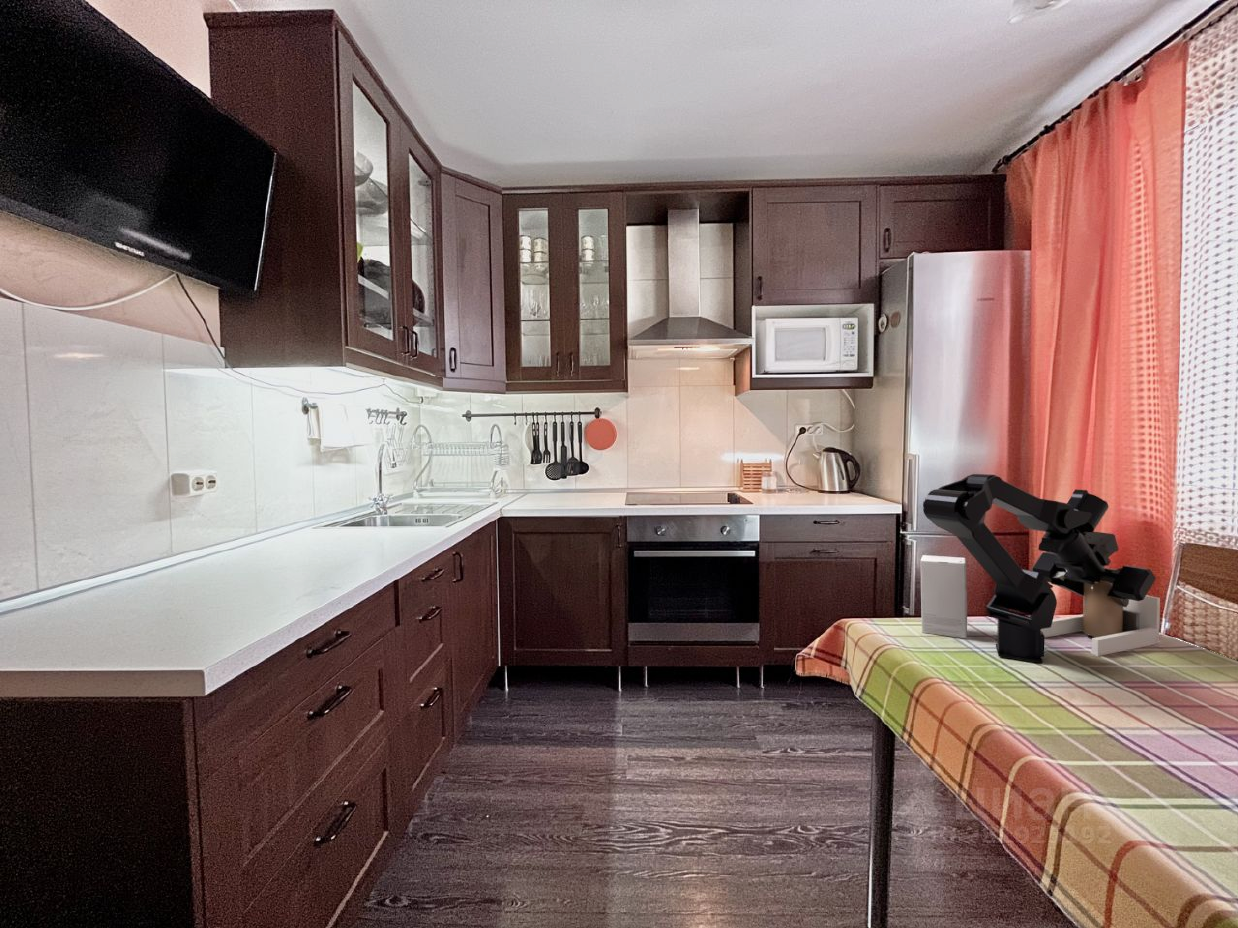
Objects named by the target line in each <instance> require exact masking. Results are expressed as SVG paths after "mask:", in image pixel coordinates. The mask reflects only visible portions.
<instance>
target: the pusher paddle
mask: <svg viewBox="0 0 1238 928" xmlns="http://www.w3.org/2000/svg"><path fill="white" fill-rule="evenodd" d="M1139 620H1140V613H1138V612H1134V611H1130V610H1125V609H1123V632H1128V631H1133V630H1139Z"/></svg>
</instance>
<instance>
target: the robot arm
mask: <svg viewBox="0 0 1238 928" xmlns="http://www.w3.org/2000/svg"><path fill="white" fill-rule="evenodd" d="M922 502H923V503H922V506H923V507H922V511H923V513H924V515H925V518H927V520H929V521H930V522H932V523H933V524H934V525H935V526H937V527H938V528H940V529H941V530H944V531H946V532H948V533H950V534H952V535H954V536H955V537H957V539H958V540H959V541H960V542H961V544H962V545H963V546H964V547H965V548H966V549H967V551H968V552H969V553H970V555H972V556H973V558H974V559H975V560H976V562H978V564H979V565H980V566H981V567H982V569H983V570H984V571H985V572H986V573H987V575H988V576H989V577H990V578H991V579H992V580H993V582H994V583H995V584H994V589H993V592H994V595H993V596H992V598H991V599H990V601H989V602H988V604H987V605H986V607H985V609H986V612H987V616H988V617H989V618H991V619H993V618H994V619H996V620H997V629H996V630H997V637H996V638H997V639H996V641H997V642H996V644H995V648H996V651H997V656H998V657H1000V658H1005V659H1013V660H1018V661H1026V662H1030V663H1031V662H1032V663H1038V664H1039V663H1040V664H1042V663H1043V658H1044V657H1045V639H1046V638H1045V636H1044V634H1043V632H1042V631H1041V629H1045V628H1050V627H1051V625H1052V621H1053V619H1054V616H1055V613H1056V609H1057V604H1058V601H1057V596H1056V594H1055V592H1054V590H1053V589H1052V588H1054V585H1055V586H1058V587H1060V588H1061V589H1062V588H1063V589H1065V590H1067V591H1070V592H1072V593H1073V594H1076V595H1077V596H1080V597H1083V592H1084V583H1088V584H1094V583H1099V582H1100V580H1103V581H1108V582H1110V584H1111V585H1112V588H1111V589H1110V591H1109V593H1108V594H1107V596H1109V597H1110V598H1111V599H1113V600H1114V601H1116V602H1117V603H1119V604H1120V605H1122V606H1123V607H1127V605H1128V604H1129V599H1130V600H1135V601H1141V600H1144V598H1145V596H1146V595H1148V593H1149V591H1150V590H1151V588H1152V586H1153V585H1154V582H1155V581H1156V580H1157V578H1156V575H1155V574H1154V573H1153V572H1152V570H1151V569H1150V568H1146V567H1140V566H1134V565H1123V566H1122V567H1121V568H1116V569H1117V570H1111V569H1112V568H1111V569H1106V568H1107V567H1108V566H1109V565H1110V564H1111V562H1112V561H1111V559H1110V557H1111V556H1112V555H1113V554H1114V553H1115V552H1118V551H1119V549H1120V548H1119V545H1118V541H1117V538H1116V535H1115V534H1114V533H1108V532H1100V531H1095V530H1096V528H1097V526H1098V525H1099V523H1100V522H1101V520H1102V519H1103V517H1104V516H1105V514H1106V513H1107V511H1108V510H1109V503H1108V502H1107V501H1106V500H1104V499H1102V498H1101V497H1099V496H1097V495H1095V494H1092V493H1089V491H1088V490H1087V489H1074V491H1073V492H1072V494H1071V496H1070V498H1069V500H1068V501H1067V502H1061V501H1057V500H1051V499H1045V498H1040V497H1037V496H1036V495H1033V494H1032V493H1030V492H1028V491H1026V490H1023V489H1021V488H1019V487H1017V486H1015V485H1013V484H1011V483H1009V482H1007V481H1005V480H1003V478H1001V477H1000V476H997V475H996V474H991V473H990V474H986V473H985V474H984V473H972V474H969V475H967V476H965V477H963V478H962V479H960V480H957V481H955V482H952V483H951V482H950V483H949V484H945V485H943V486H941V487H939V488H938V489H932V490H930V492H929V493H927V495H926V496H925V497H924V500H923V501H922ZM993 505H995V506H996V507H999V508H1000V509H1003V510H1005V511H1007V512H1008V513H1012V514H1013V515H1015V516H1016V517H1017V521H1018V522H1019V523H1021V525H1023V527H1026V528H1027V529H1028V530H1031V531H1040V532H1044V534H1043V535H1042V537H1041V540H1040V542H1039V544H1038V550H1039V551H1040V552H1042V553H1040V555H1039V556H1038V558H1037V559H1036V561H1035V563H1034V564H1033V566H1032V567H1031V570H1028V569H1023V568H1022V567H1020V566H1019V564H1018V563H1017V562H1016V560H1015V559H1014V558H1013V557H1012V556H1011V554H1010V553H1009V552H1008V551H1007V550H1006V549H1007V548H1006V549H1005V547H1004V546H1003V545H1002V544H1001V542H1000V541H999V539H998V538H997V537H996V536H995V534H993V532H992V531H991V529H989V527H988V526H987V525H986V524H985V519H986V512H987V513H988V511H990V510H991V509H992V508H993V507H992V506H993ZM1011 610H1012V611H1011ZM1026 614H1027V615H1026ZM1029 615H1030V616H1029Z"/></svg>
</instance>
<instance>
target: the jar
mask: <svg viewBox="0 0 1238 928" xmlns="http://www.w3.org/2000/svg"><path fill="white" fill-rule="evenodd" d="M1105 568H1106V569H1111V570H1117V569H1118V568H1112V567H1105ZM1111 588H1112V585H1111V584H1110V582H1108V581H1103V580H1100V582H1099V583H1094V584H1088V583H1084V592H1083V596H1082V597H1083V600H1082V603H1083V605H1082V606H1083V607H1082V614H1083V631H1082V633H1084V634H1086V635H1088V636H1091V637H1093V638H1096V637H1102V636H1107V635H1112V634H1118V633H1123V606H1122V605H1120V604H1119V603H1117V602H1116V601H1114V600H1113V599H1111V598H1110V597H1109V596H1107V594H1108V593H1109V591H1110V589H1111Z"/></svg>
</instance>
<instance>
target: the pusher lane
mask: <svg viewBox="0 0 1238 928" xmlns="http://www.w3.org/2000/svg"><path fill="white" fill-rule="evenodd" d="M1160 607H1161V598H1160V597H1157V596H1152V595H1148V594H1147V595H1146V596H1145V598H1144V600H1141V601H1135V600H1130V599H1129V604H1128V605H1127V607H1123V609H1125V610H1130V611H1134V612H1138V613H1140V620H1139V630H1133V631H1128V632H1123V633H1118V634H1112V635H1107V636H1102V637H1092V638H1091V652H1090V653H1091V655H1092V656H1096V657H1100V656H1105V655H1110V654H1116V653H1119V652H1120V653H1121V652H1123V651H1124V652H1125V651H1129V650H1130V651H1131V650H1134V649H1139V648H1143V647H1149V646H1154V645H1158V644H1160V615H1161V613H1160V610H1161V608H1160ZM1041 631H1042V632H1043V634H1044V636H1045V639H1046V638H1051V637H1057V636H1063V635H1066V634H1068V635H1069V634H1073V633H1078V632H1079V633H1080V632H1083V613H1081V614H1078V615H1072V616H1066V617H1065V616H1064V617H1059V618H1053V621H1052V625H1051V627H1050V628H1045V629H1041Z"/></svg>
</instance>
